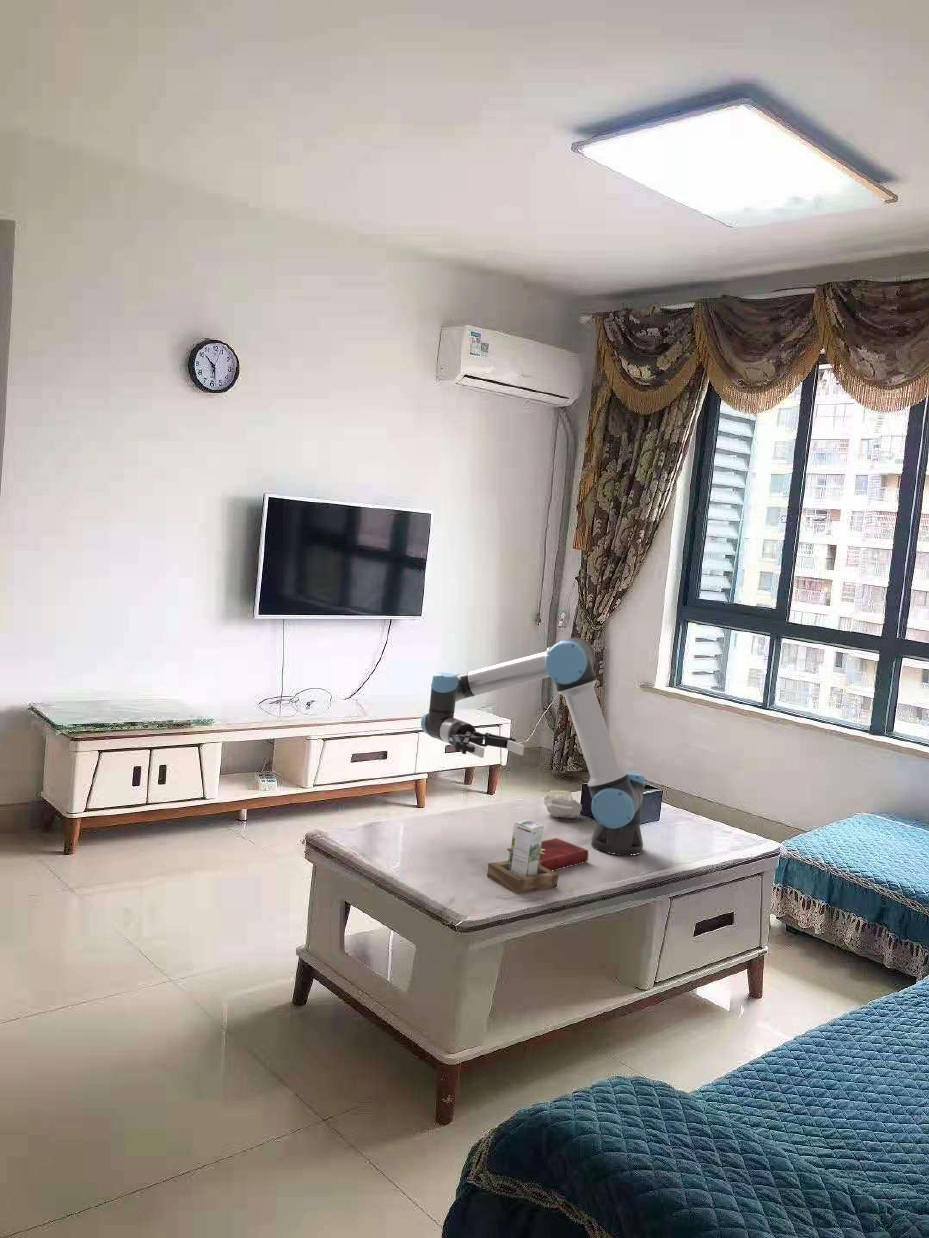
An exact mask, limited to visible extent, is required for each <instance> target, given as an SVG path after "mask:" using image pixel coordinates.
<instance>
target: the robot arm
mask: <svg viewBox="0 0 929 1238" xmlns="http://www.w3.org/2000/svg"><path fill="white" fill-rule="evenodd" d="M595 663H596V653H595V650H594V647H593V646H592V644H591V643H590V642H588V641H587V640H586V639H584V638H580V637H570V638H567V639H563V640H560V641H559V642H556V643H555V644H553V645H552V646H549V647H547V649H546V651H543V652H539V653H535V654H532V655H529V656H528V655H527V656H524V657H520V658H517V659H512V660H509V661H504V662H501V663H497V664H494V665H489V666H486V667H483V668H479V669H476V670H472V671H467V672H464V673H458V674H455V673H449V672H435V673H434V674H433V676H432V681H431V684H430V688H431V690H430V699H429V709H428V711H426V712H425V713H424V714H423V716H422V718H421V720H420V727H421V729H422V731H423V732H424V734H427V735H428V736H430V737H431V738H433V739H436V740H440V741H441V742H443V743H446V744H449V746H450V747H452V748H453V749H454V750H455V751H456V752H459V751H461V754H463V755H467V753H469V754H472V755H474V756H476V757H478V758H481V759H482V758H483V759H484V757H485V749H486V747H495V748H501V749H506V750H507V751H509V752H512V753H515V754H517V755H519V756H524V751H525V749H524V748H525V745H523V744H521V743H518V742H516V738H513V737H511V736H510V737H506V736H502V735H496V734H493V733H489V732H485V733H481V732H480V731H477V730H476V728H475V727H474V725H472V724H471V723H469V722H466V721H464V720H460V719H458V718H455V709H456V703H457V702H458V701H461V700H464V699H467V698H471V697H475V696H478V695H479V696H480V695H484V694H486V693H491V692H495V691H498V690H502V689H506V688H511V687H514V686H519V685H523V684H527V683H529V682H534V681H538V680H541V679H542V680H543V679H546V678H549V677H550V679H552V680H553V682H554V685H555V688H556V692H557V693H558V694H559V695H562V696H563V697H564V698H565V701H566V704H567V707H568V710H569V713H570V716H571V717H570V718H571V721H572V723H573V726H574V730H575V733H576V735H577V739H578V742H579V744H580V745H579V746H580V748H581V751H582V755H583V757H584V761H585V763H586V767H587V771H588V773H589V776H590V777H589V780H588V783H587V787H588V791H589V793H590V797H591V799H592V800H591V802H590V805H591V806H590V807H591V812H592V816H593V817H594V819H595V820H596V821H597V822H598V823H597V824H596V827H595V829H594V831H593V833H592V836H591V841H590V844H591V846H592V847H593V846H594V847H595V848H594V847H593V848H594V849H596V848H597V849H596V850H598V849H599V850H598V851H600V850H601V851H600V852H602V851H604V852H603V853H606V852H610V853H615V854H620V855H619V856H622V855H631V854H632V855H633V854H637V853H640V852H642V853H643V850H644V849H643V847H644V841H643V837H642V832H641V824H640V823H641V817H642V808H643V800H644V791H645V787H646V778H645V776H644V775H643V774H641V773H639V772H633V771H629V770H628V771H627V770H623V769H621V767H620V765H619V761H618V758H617V755H616V751H615V749H614V746H613V743H612V740H611V736H610V734H609V731H608V727H607V725H606V721H605V718H604V715H603V712H602V709H601V706H600V702H599V700H598V697H597V694H596V690H595V685H596V683H597V681H598V679H597V676H596V674H595V673H596V672H595V669H594V666H595Z"/></svg>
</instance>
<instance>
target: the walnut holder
mask: <svg viewBox="0 0 929 1238" xmlns="http://www.w3.org/2000/svg"><path fill="white" fill-rule="evenodd" d="M508 868H509V861H508V860H503V861H495V862H488V863H487V871H486V872H487V873H486V876H487V878H489V879H491V880H492V881H495V882H496V883H497V884H500V885H501V886H503V887H504V888H506V889H507V890H510V891H511V892H513V893H515V894H517V895H520V894H527V893H532V891H533V892H538V891H537V890H540V891H542V890H541V889H546V890H549V889H557V888H558V884H559V883H558V882H559V876H560V875H559V873H557V872H555V871H551V870H549V869H547V868H545V867H543V866H541V865H540V864H539V866H538V874H536V875H530V876H523V877H520V876H518V875H516V874H514V873H513V872H511V871H509V870H508ZM556 887H557V888H556Z"/></svg>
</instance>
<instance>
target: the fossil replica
mask: <svg viewBox="0 0 929 1238" xmlns="http://www.w3.org/2000/svg"><path fill="white" fill-rule="evenodd" d="M543 803H544V805H545V807H546V810H547V812H548V813H549V814H550V816H553V817H554V818H556V817H557V818H558V817H561V818H560V819H568V818H569V819H570V818H571V819H572V818H573V819H575V818H577V817H578V816H579V815H580V813H581V811H582V809H583V808H582V807H583V805H582V804H581V803H580V802H579V801H578V800H576V799H573V795H572V793H571V791H568V790H555V789H551V790H550V791H548V792H547V793H546V794H545V795H544V798H543ZM562 817H563V818H562ZM565 817H566V818H565Z"/></svg>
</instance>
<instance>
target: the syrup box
mask: <svg viewBox="0 0 929 1238" xmlns="http://www.w3.org/2000/svg"><path fill="white" fill-rule="evenodd" d="M544 828H545V827H544V825H543V824H541V823H539V822H536V821H534V820H530V819H524V820H521V821H518V822H515V823H514V824H513V830H512V838H511V839H512V840H511V847H510V848H511V852H510V860H509V868H508V870H509V871H511V872H513V873H514V874H516V875H518V876H520V877H523V876H530V875H536V874H538V866H539V859H540V852H541V844H542V841H543V835H544Z"/></svg>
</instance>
